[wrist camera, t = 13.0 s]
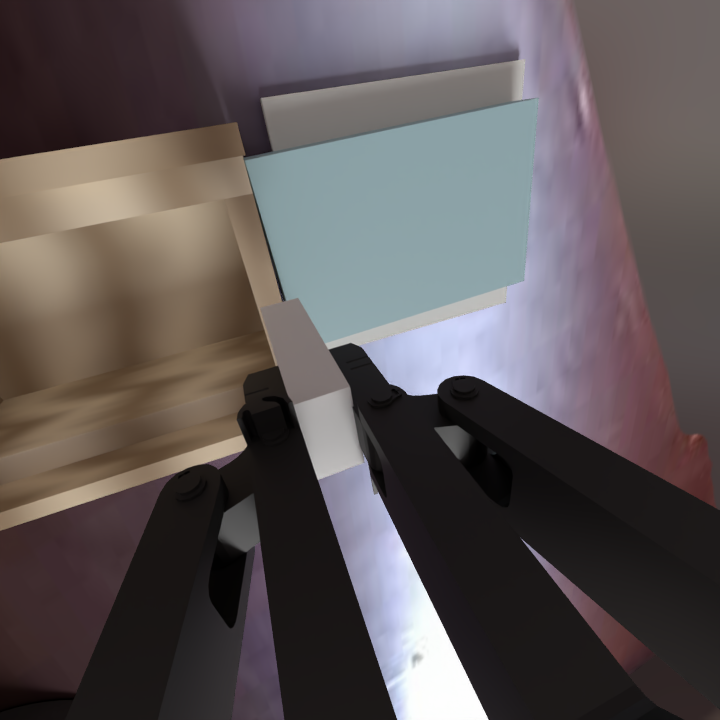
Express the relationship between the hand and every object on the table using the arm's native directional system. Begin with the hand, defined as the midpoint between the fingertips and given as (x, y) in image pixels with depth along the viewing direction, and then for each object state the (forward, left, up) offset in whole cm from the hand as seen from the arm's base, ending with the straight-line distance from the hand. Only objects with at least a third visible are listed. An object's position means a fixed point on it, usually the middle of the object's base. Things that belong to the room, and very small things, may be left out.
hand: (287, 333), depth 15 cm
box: (-9, 0, -11) cm, 14 cm away
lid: (+9, 0, -10) cm, 14 cm away
